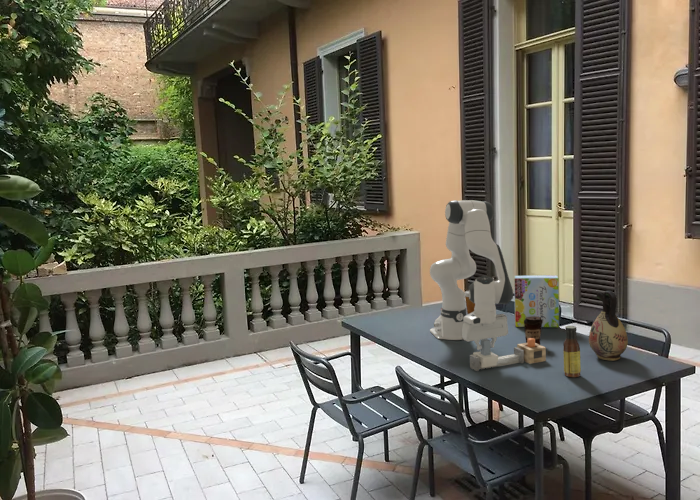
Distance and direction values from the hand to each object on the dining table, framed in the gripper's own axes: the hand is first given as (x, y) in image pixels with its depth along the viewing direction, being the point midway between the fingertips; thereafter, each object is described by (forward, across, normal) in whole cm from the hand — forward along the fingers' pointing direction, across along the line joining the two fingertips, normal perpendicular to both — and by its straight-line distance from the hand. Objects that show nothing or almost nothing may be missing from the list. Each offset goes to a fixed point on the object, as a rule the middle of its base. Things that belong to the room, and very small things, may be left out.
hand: (485, 348), depth 254 cm
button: (+4, -23, 0) cm, 23 cm away
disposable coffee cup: (+8, -41, -80) cm, 90 cm away
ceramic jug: (+8, -52, +13) cm, 54 cm away
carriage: (+7, 0, 0) cm, 7 cm away
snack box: (+8, -56, -42) cm, 71 cm away
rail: (+8, -6, 0) cm, 10 cm away
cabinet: (+8, -22, 0) cm, 24 cm away
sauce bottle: (+8, -25, +23) cm, 35 cm away
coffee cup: (+8, -35, -16) cm, 39 cm away
